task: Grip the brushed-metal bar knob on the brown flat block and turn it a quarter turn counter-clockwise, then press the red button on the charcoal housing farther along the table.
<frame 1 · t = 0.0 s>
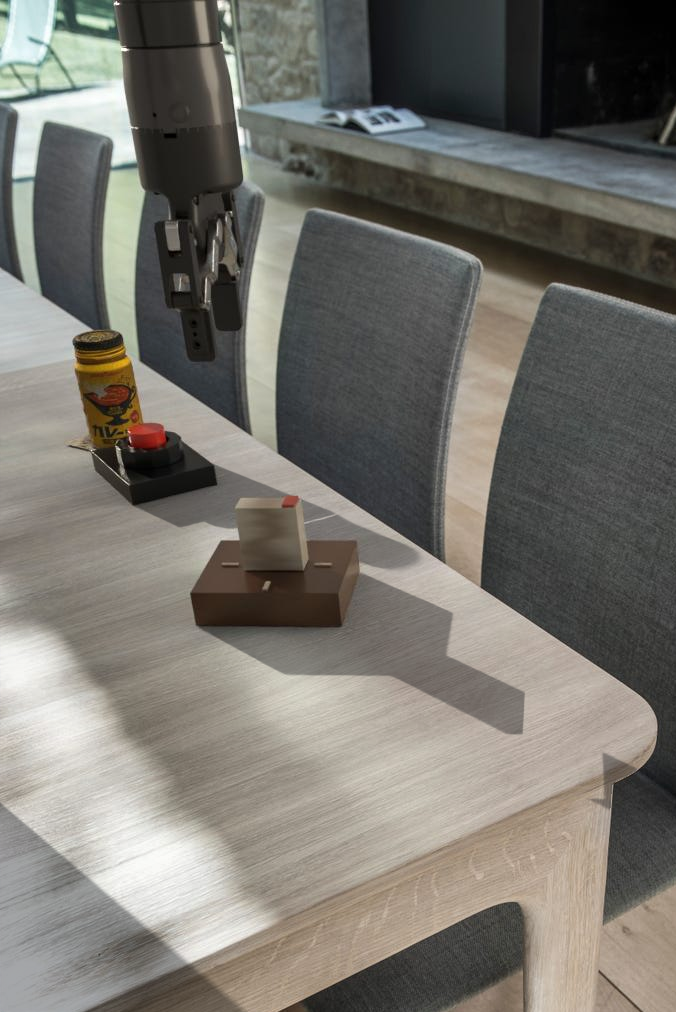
hand: (217, 344, 92), 19 cm above the table, tool pointing down, fingers open, 8 cm apart
condiment: (115, 443, 131), on the table
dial: (272, 533, 94), point 6 cm above the table, hinge at 0.0°
button: (147, 436, 118), point 4 cm above the table, slide at 0.1 cm
button box: (155, 477, 121), on the table
brown flat block: (281, 597, 97), on the table
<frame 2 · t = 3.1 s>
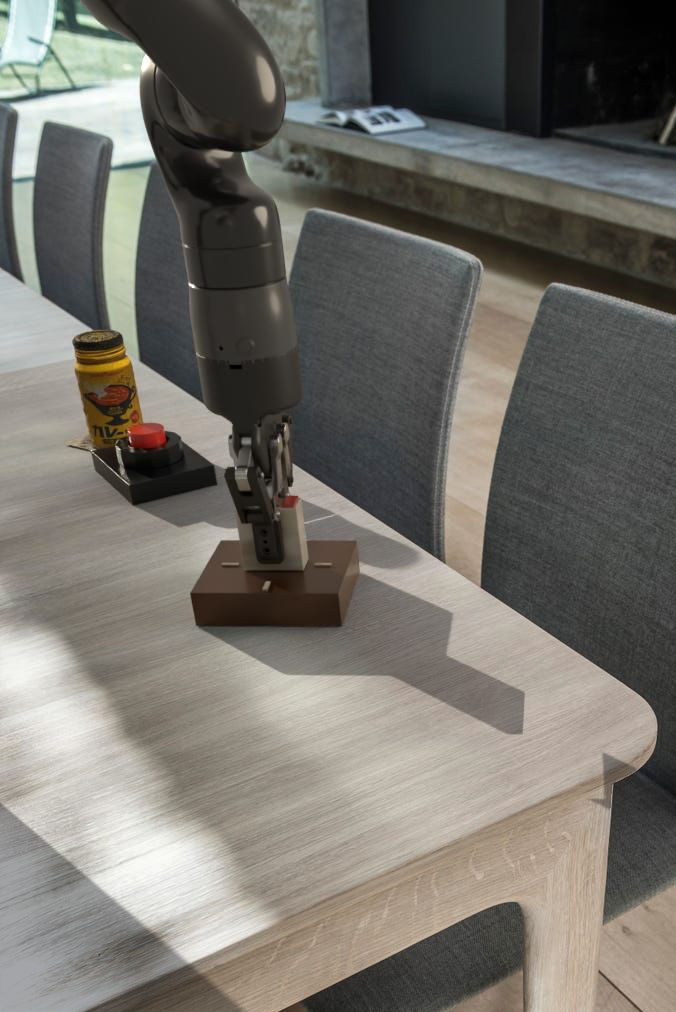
hand: (275, 553, 95), 4 cm above the table, tool pointing down, fingers closed on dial, 2 cm apart
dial: (272, 533, 94), point 6 cm above the table, hinge at 0.0°, touching gripper
everything else where it was.
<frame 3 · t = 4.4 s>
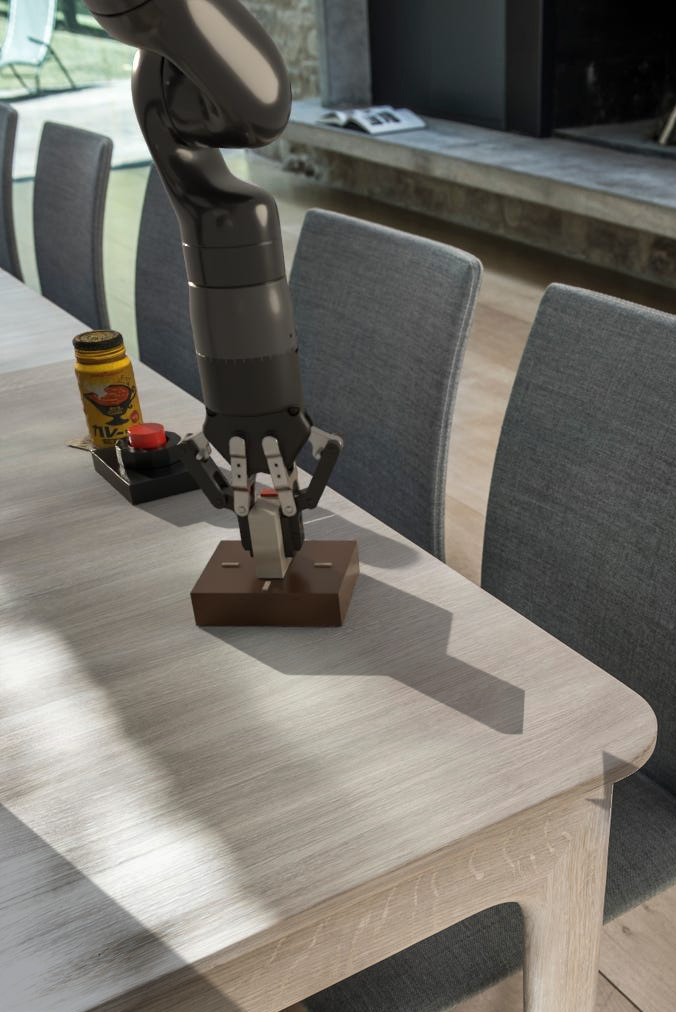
hand: (275, 552, 95), 4 cm above the table, tool pointing down, fingers closed on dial, 2 cm apart
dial: (272, 533, 94), point 6 cm above the table, hinge at 89.6°, touching gripper
everything else where it was.
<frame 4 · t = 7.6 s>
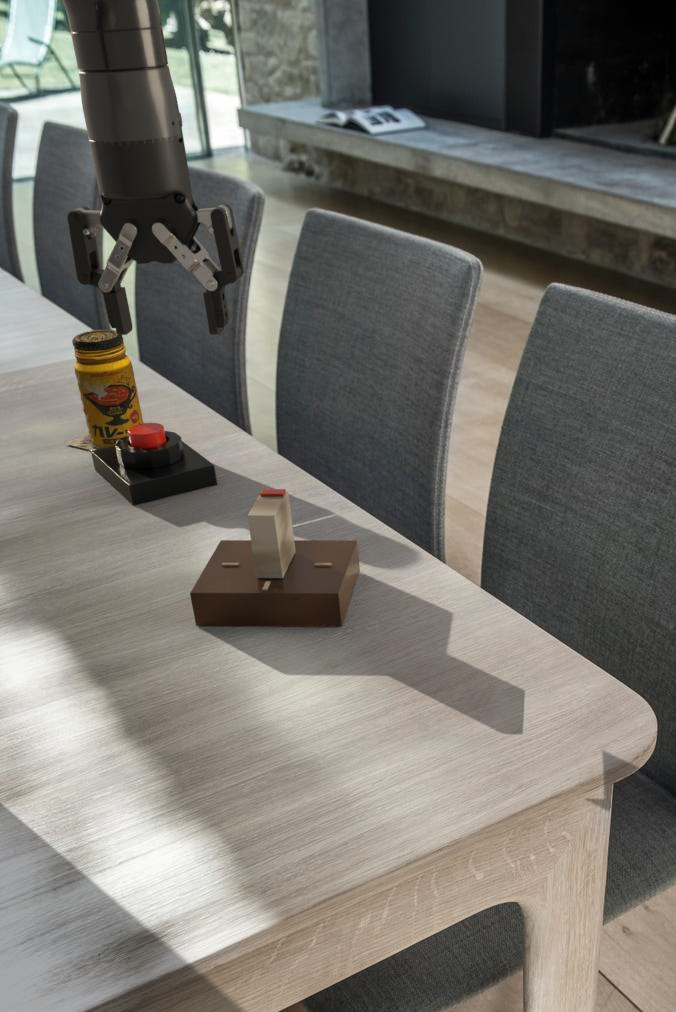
hand: (171, 332, 103), 17 cm above the table, tool pointing down, fingers open, 8 cm apart
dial: (272, 533, 94), point 6 cm above the table, hinge at 89.0°
everything else where it was.
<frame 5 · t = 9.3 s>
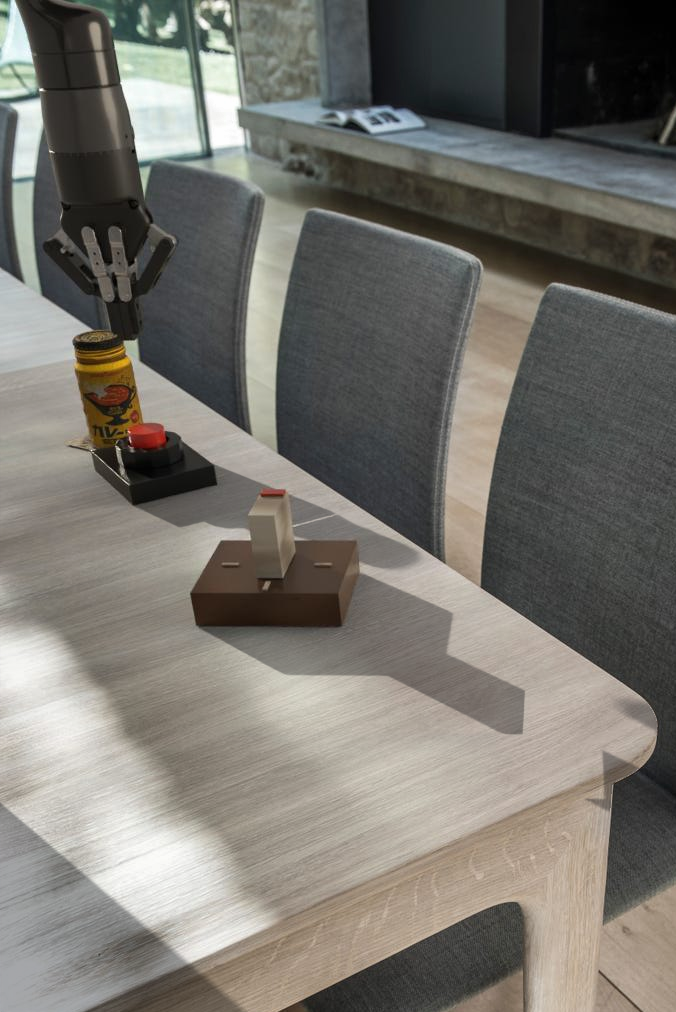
hand: (129, 338, 113), 14 cm above the table, tool pointing down, fingers closed
nothing on the table moved.
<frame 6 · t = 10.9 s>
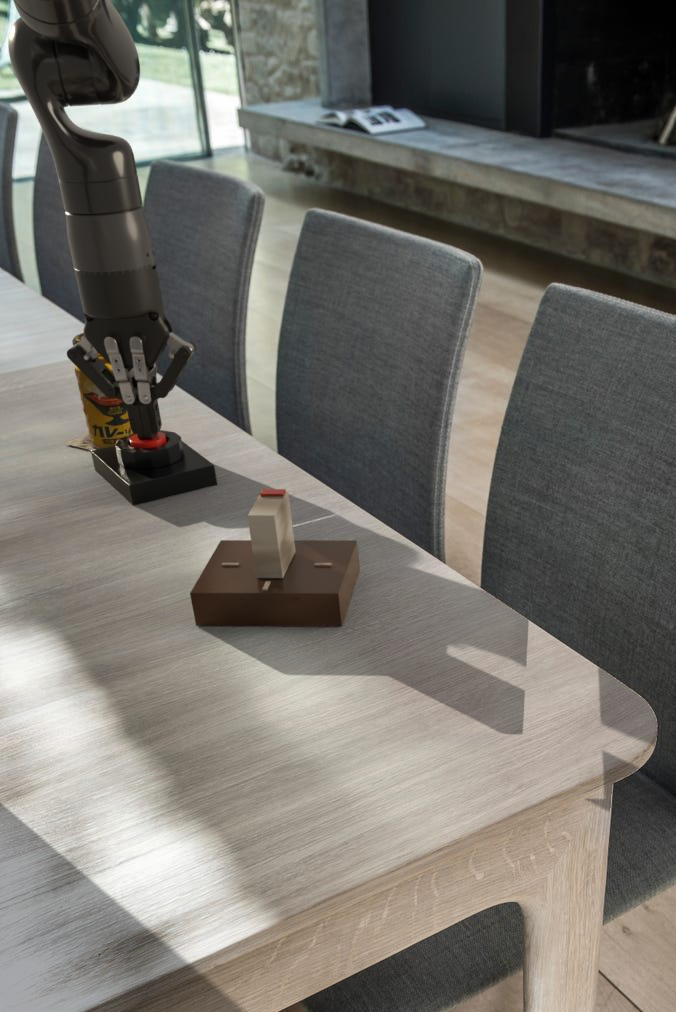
hand: (148, 436, 118), 4 cm above the table, tool pointing down, fingers closed
button: (148, 445, 119), point 4 cm above the table, slide at -0.8 cm, touching gripper
everything else where it was.
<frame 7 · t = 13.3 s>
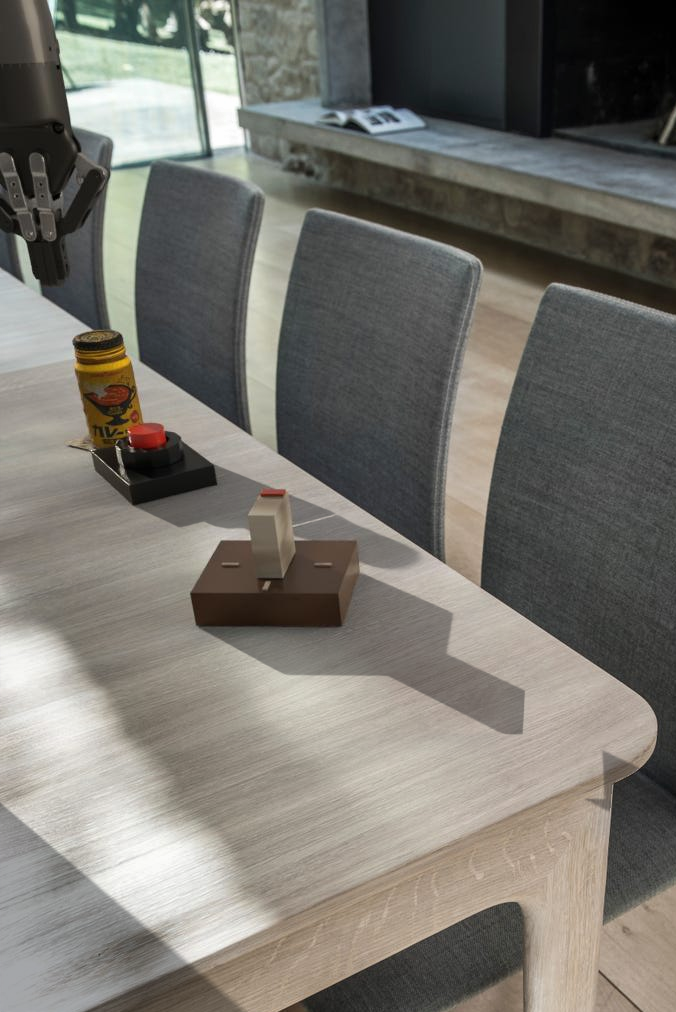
hand: (54, 284, 100), 22 cm above the table, tool pointing down, fingers closed
button: (147, 436, 118), point 4 cm above the table, slide at 0.1 cm
everything else where it was.
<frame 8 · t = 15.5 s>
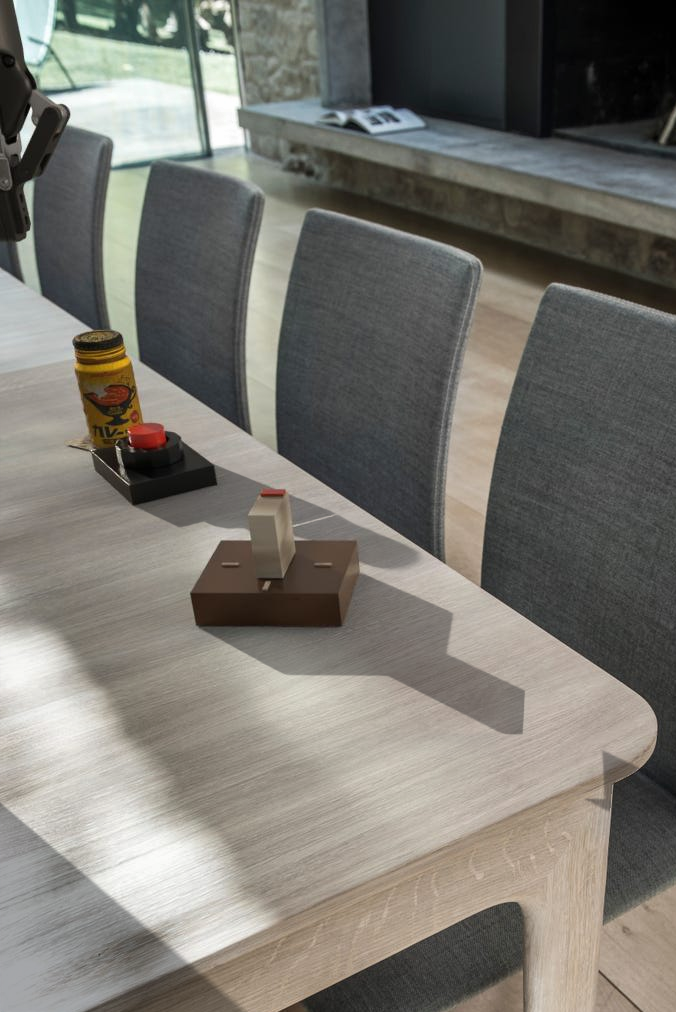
hand: (13, 239, 91), 27 cm above the table, tool pointing down, fingers closed
nothing on the table moved.
at the end: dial at +89° (first picture: +0°); button pushed in 1.1 cm at the most during the clip, back to where it started at the end; button slide at 0.1 cm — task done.
